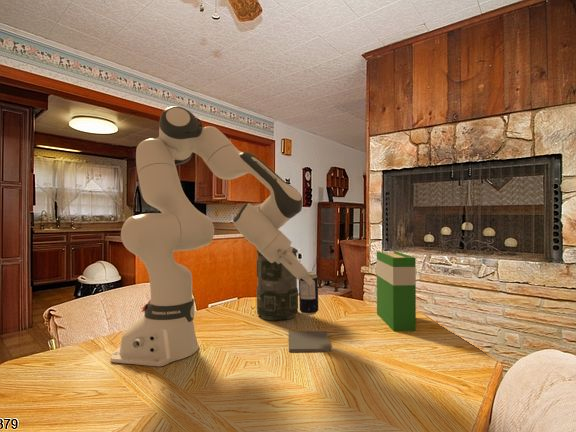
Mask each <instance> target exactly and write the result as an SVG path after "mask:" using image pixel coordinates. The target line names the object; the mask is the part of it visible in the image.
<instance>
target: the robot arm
mask: <svg viewBox="0 0 576 432" xmlns="http://www.w3.org/2000/svg"><path fill="white" fill-rule="evenodd" d="M159 117H160V118H159V121H158V122H159V124H158V125H159V130H158V131H159V132H158V133H159V134H158V136H157V137H156V138H147V139H144V140H142V141H141V142H139V144H138V145H137V146H136V150H135V151H136V152H135V163H136V164H135V165H136V166H135V167H136V172H137V178H138V183H139V187H140V192H141V196H142V198H143V200H144V202H145V203H146V204H147V205H149V206H151V207H152V208H154V209H156V210H158V211H159V212H147V213H141V214H137V215H132V216H129V217H128V218H126V220H125V221H124V223H123V225H122V227H121V230H120V239H121V241H122V244H123V246H124V247H125V249H126V250H127V251H129V253H132V254H134V256H136V257H137V258H139V260H141V262H142V263H143V266H145V268H146V272H147V274H148V278H149V289H150V300H148V303H146V304H144V306H142V308H141V309H140V310H141V313H144V316H142V317H141V318H140V319H139V320H137V321H136V322H135V323H134V324H132V325H131V326H130V327H129V328H128V329H127V330H126V331H125V332H124V333H123V335H122V337H121V342H120V346H118V347H117V348H116V349H115V350H113V352H112V354H111V356H110V361H111V363H118V364H127V365H128V364H130V365H139V366H150V367H152V366H153V367H163V366H166V365H168V364H170V363H172V362H176V361H180V360H183V359H186V358H187V357H190V356H192V355H193V354H195V353H196V352H197V351H198V350H199V348H200V345H199V343H198V339H197V336H196V331H195V323H194V319H195V308H196V306H195V299H194V297H193V274H192V271H191V270H190V269H189V268H188V267H186V265H184V264H181V263H178V262H176V260H175V255H174V253H175V252H182V251H183V252H184V251H194V250H198V249H201V248H204V247H207V246H208V245H210V244H211V243H212V241H213V239H214V236H215V226H214V224H213V221H212V219H211V218H210V217H209V216H207V215H205V213H203V212H201V211H200V210H198V209H197V208H196V207H195V206H194V204H192V202H191V201H190V200H189V198H188V196H186V194H185V192H184V190H183V187H182V183H181V180H180V177H179V172H178V169H177V166H180V165H183V164H185V163H187V162H189V161H190V160H191V158H192V156H193V154H196V155H197V156H198V157H200V158H201V159H202V160H203V162H204V163H205V165H206V167H208V169H209V170H210V171H211V173H213V175H215V177H217V178H218V179H221V180H223V181H224V180H225V181H231V180H235V179H238V178H240V177H243V176H245V175H247V174H250V175H252V176H254V178H256V179H257V180H258V181H259V182H260V183H261V184H262V185H263V186H265V187H266V188H267V189H268V190H269V192H270V195H269V196H268V197H267V198H266V199H265V200H264V201H263V202H262V203H260V204H258V205H252V204H251V203H249V202H247V203H245V204H244V205H242V206H241V207H240V208H239V210H238V211H237V213H235V215H234V217H233V221H232V223H233V225H234V227H235V228H236V230H238V232H239V233H240V234H241V236H243V237H244V238H245V239H246V240H247V241H248V242H249V243H250V244H252V245H253V246H255V247H256V249H257V250H258V251H259V252H260V253H261V254H262V255H263V256H264V257H265V258H266V259H267V260H268V261H269V262H270V263H273V262H276V263H277V264H280V263H282V264H283V266H284V267H285V268H286V269H287V270H288V271H289V272H290V273H291V274H292V275H293V276H294V277H295V278H297V281H299V280H300V279H301V278H302V279H303V280H304V281H306V282H307V283H308V284H309V285H312V284H313V282H314V280H313V279H312V278H311V277H310V276H309V275H308V274H307V272H308V270H307V268H306V267H305V266H304V264H302V263H301V261H300V260H299V259H298V257H297V258H296V256H295V255H294V254H293V253H292V250H293V249H292V248H291V247H292V246H291V244H292V241H291V240H290V238H288V237H287V236H286V235H285V234H284V232H282V231H281V230H280V229H281V228H282V227H283V226H284V225H286V223H287V222H288V221H290V220H291V219H293V218H294V217H296V215H299V213H300V212H301V211H302V209H303V198H302V195H301V193H300V192H299V190H298V189H296V188H295V187H293V185H290V183H288V182H286V181H285V180H283V179H282V178H281V177H280V176H279V175H278V174H277V173H276V172H275V171H274V170H272V169H271V168H270V167H269V166H268V165H267V164H266V163H265V162H264V161H263V160H261V159H260V158H259V157H257V155H255V154H253V153H251V152H249V151H241V150H239V149H238V148H237V147H236V146H235V145H234V144H233V142H231V140H230V139H229V138H228V137H227V136H226V135H225V134H224V133H223V132H222V131H220V129H218V128H217V127H215V126H211V125H210V126H209V125H208V126H204V127H203V124H202V123H203V122H202V121H201V119H199V118H198V117H196V116H195V115H194V114H193V113H192V112H191V111H190V110H189V109H186V108H184V107H181V106H176V105H174V106H173V105H172V106H169V107H166V108H165V109H164V110H163V111H162V113H161V114H160V116H159ZM290 246H291V247H290Z"/></svg>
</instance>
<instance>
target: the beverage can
mask: <svg viewBox="0 0 576 432" xmlns="http://www.w3.org/2000/svg"><path fill="white" fill-rule="evenodd" d="M307 274H308V275H309V276H310V277H311V278H312V279H313V280H314V282H313V284H312V285H309V284H308V283H307V282H306V281H304V280H303V279H302V278H301V279H300V280H298V308H299V311H300V312H301V314H302V315H305V316H312V315H316V314H317V313H318V312H319V279H318V278H319V277H318V275H317V273H316V272H314V271H307Z"/></svg>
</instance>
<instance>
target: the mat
mask: <svg viewBox="0 0 576 432" xmlns="http://www.w3.org/2000/svg"><path fill="white" fill-rule="evenodd" d="M287 335H288V352H289V353H291V352H292V353H297V352H298V353H299V352H300V353H301V352H302V353H303V352H304V353H306V352H307V353H308V352H310V353H311V352H312V353H314V352H316V353H317V352H321V353H322V352H323V353H324V352H333V348H332V345H331V343H330V339H329V336H328V333H327V331H326V330H313V331H312V330H309V331H308V330H307V331H306V330H303V331H301V330H297V331H295V330H294V331H293V330H292V331H290V330H289V331H288V334H287Z"/></svg>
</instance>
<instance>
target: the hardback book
mask: <svg viewBox="0 0 576 432" xmlns="http://www.w3.org/2000/svg"><path fill="white" fill-rule="evenodd" d="M416 259H417V258H416V257H414V256H412V255H408V254H405V253H402V252H399V251H397V250H396V251H395V250H394V251H393V252H389V253H387V252H385V253H384V252H381V251H376V314H377V315H378V317H379V318H380V319H381V320H382V321H383V322H384V323H385V324H386V325H387V326H388V328H390V329H391V331H393V332H414V331H416V330H417V328H416V327H417V317H416V316H417V314H416V313H417V311H416V309H417V307H416V305H417V303H416V302H417V300H416V297H417V292H416V291H417V288H416V287H417V286H416V285H417V284H416V282H417V280H416V278H417V276H416V275H417V273H416V271H417V269H416V266H417V265H416V263H417V262H416Z"/></svg>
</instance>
